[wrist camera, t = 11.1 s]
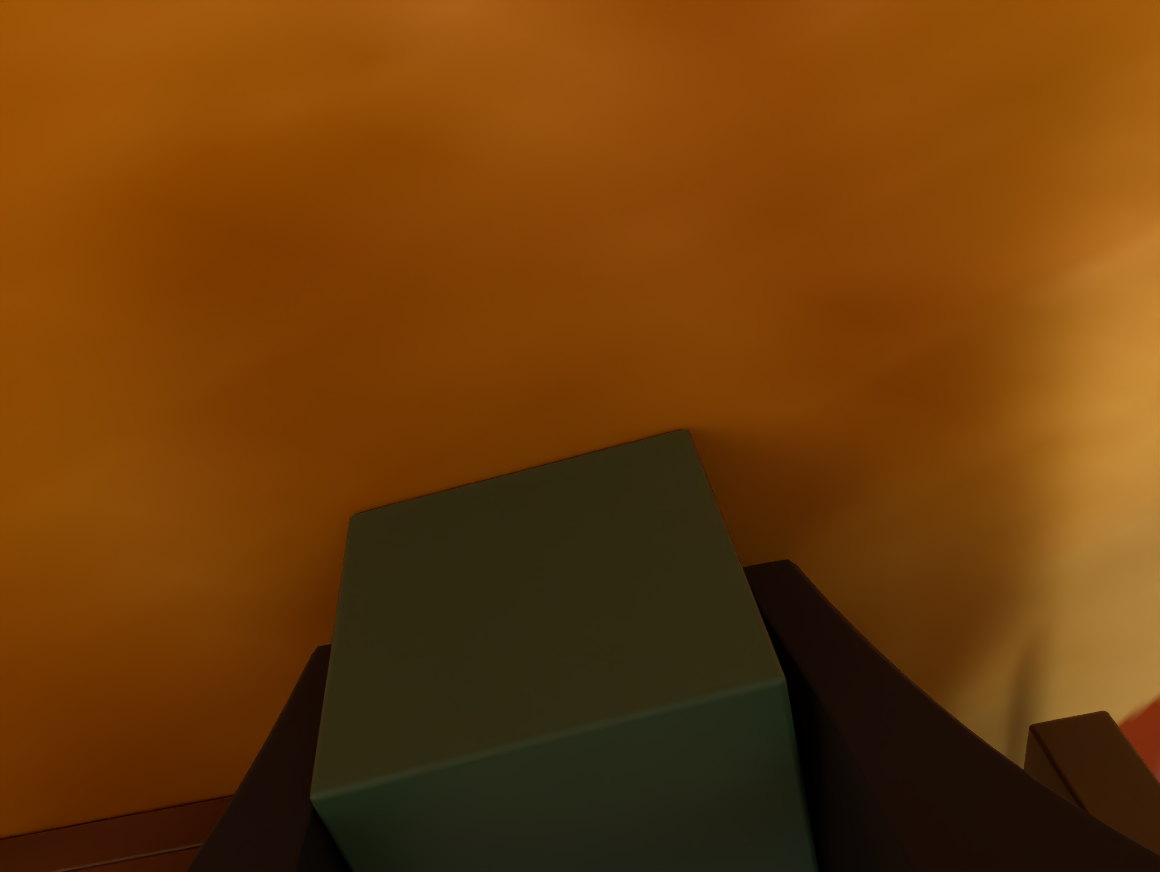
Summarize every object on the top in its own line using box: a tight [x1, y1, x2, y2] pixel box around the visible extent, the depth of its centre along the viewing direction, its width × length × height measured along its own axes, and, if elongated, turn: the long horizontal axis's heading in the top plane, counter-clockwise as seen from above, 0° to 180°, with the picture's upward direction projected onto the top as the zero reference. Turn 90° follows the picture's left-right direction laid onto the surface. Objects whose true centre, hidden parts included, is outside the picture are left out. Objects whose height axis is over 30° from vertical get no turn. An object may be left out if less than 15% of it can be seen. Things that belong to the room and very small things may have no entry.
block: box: [310, 429, 820, 872], centre depth 12 cm, size 4×4×4 cm
